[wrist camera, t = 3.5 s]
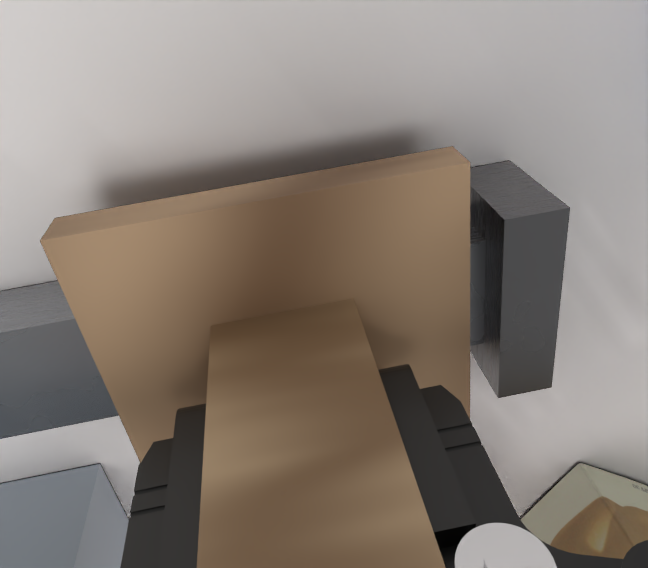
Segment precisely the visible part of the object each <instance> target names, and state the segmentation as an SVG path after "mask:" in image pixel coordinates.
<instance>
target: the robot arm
mask: <svg viewBox="0 0 648 568" xmlns="http://www.w3.org/2000/svg"><path fill="white" fill-rule="evenodd" d="M378 371H379V374H380V377H381V380H382V383H383V386H384V389H385V392H386V394H387V397H388V400H389V403H390V406H391V409H392V412H393V415H394V418H395V421H396V424H397V427H398V430H399V432H400V435H401V438H402V441H403V444H404V447H405V450H406V453H407V456H408V459H409V462H410V465H411V468H412V471H413V473H414V476H415V479H416V482H417V485H418V488H419V491H420V494H421V497H422V500H423V503H424V506H425V509H426V511H427V514H428V517H429V520H430V523H431V526H432V529H433V532H434V535H435V538H436V541H437V544H438V547H439V550H440V552H441V555H442V558H443V561H444V564H445V567H446V568H648V540H646V541H643V542H640V543H638V544H636V545H635V546H633V547H632V548H631V549H630V550H629V551H628V552H627V553H626V555H625V557H624V559H618V558H609V557H600V556H591V555H581V554H575V553H569V552H566V551H563V550H560V549H557V548H555V547H553V546H550V545H549V544H547V543H545V542H543V541H542V540H540V539H539V538H538V537H536V536H535V535H534V534H533V533H531V532H530V531H529V530H528V529H527V528H526V526H525V525H524V524H523V523H522V521H521V520H520V518H519V517H518V515H517V513H516V511H515V509H514V507H513V505H512V503H511V501H510V499H509V497H508V495H507V493H506V491H505V489H504V487H503V485H502V483H501V481H500V479H499V477H498V475H497V473H496V471H495V469H494V467H493V465H492V463H491V461H490V459H489V457H488V455H487V453H486V451H485V449H484V447H483V446H482V445H481V441H480V439H479V437H478V435H477V433H476V431H475V429H474V427H472V423H471V421H470V419H469V417H468V415H467V413H466V411H465V409H464V407H463V405H462V403H461V401H460V400H459V399H457V398H456V397H455V396H454V395H453V394H451V393H450V392H449V391H448V390H447V389H445V388H444V387H443V386H442V385H437V386H432V387H427V388H422V389H420V388H419V386H418V383H417V381H416V379H415V376H414V374H413V371H412V369H411V367H410V365H409V364H404V365H399V366H394V367H389V368H384V369H379V370H378ZM205 416H206V403H205V404H200V405H195V406H190V407H184V408H179V409H178V410H177V413H176V418H175V427H174V435H173V438H170V439H165V440H160V441H155V442H153V444H152V445H151V447H150V448H149V450H148V452H147V453H146V455H145V456H144V458H143V460H142V461H141V463H140V464H139V467H138V472H137V478H136V483H135V489H134V492H135V496H133V500H132V506H131V511H130V513H131V517H130V518H129V522H128V528H127V533H126V539H125V544H124V550H123V556H122V561H121V567H120V568H197V554H198V537H199V520H200V502H201V485H202V468H203V450H204V433H205Z"/></svg>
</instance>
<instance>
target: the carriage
mask: <svg viewBox="0 0 648 568" xmlns="http://www.w3.org/2000/svg"><path fill="white" fill-rule="evenodd" d="M40 242H41V244H42V246H43V249H44V251H45V253H46V255H47V257H48V260H49V262H50V264H51V266H52V268H53V271H54V273H55V275H56V277H57V280H58V282H59V284H60V286H61V288H62V291H63V293H64V295H65V297H66V299H67V302H68V304H69V306H70V308H71V310H72V313H73V315H74V317H75V319H76V321H77V324H78V326H79V328H80V330H81V333H82V335H83V337H84V339H85V341H86V344H87V346H88V348H89V350H90V352H91V355H92V357H93V359H94V361H95V363H96V366H97V368H98V370H99V372H100V374H101V377H102V379H103V381H104V383H105V386H106V388H107V390H108V392H109V394H110V397H111V399H112V401H113V403H114V405H115V408H116V410H117V412H118V414H119V416H120V419H121V421H122V423H123V425H124V427H125V430H126V432H127V434H128V436H129V439H130V441H131V443H132V445H133V447H134V450H135V452H136V454H137V456H138V458H139V461H140V463H141V461H142V460H143V458H144V456H145V455H146V453H147V452H148V450H149V448H150V447H151V445H152V444H153V442H155V441H160V440H165V439H170V438H173V435H174V427H175V418H176V413H177V410H178V409H179V408H184V407H190V406H195V405H200V404H205V403H206V416H205V433H204V450H203V468H202V485H201V502H200V520H199V537H198V554H197V568H446V567H445V564H444V561H443V558H442V555H441V552H440V550H439V547H438V544H437V541H436V538H435V535H434V532H433V529H432V526H431V523H430V520H429V517H428V514H427V511H426V509H425V506H424V503H423V500H422V497H421V494H420V491H419V488H418V485H417V482H416V479H415V476H414V473H413V471H412V468H411V465H410V462H409V459H408V456H407V453H406V450H405V447H404V444H403V441H402V438H401V435H400V432H399V430H398V427H397V424H396V421H395V418H394V415H393V412H392V409H391V406H390V403H389V400H388V397H387V394H386V392H385V389H384V386H383V383H382V380H381V377H380V374H379V371H378V370H379V369H384V368H389V367H394V366H399V365H404V364H409V365H410V367H411V369H412V371H413V374H414V376H415V379H416V381H417V383H418V386H419V388H420V389H422V388H427V387H432V386H437V385H442V386H443V387H444V388H445V389H447V390H448V391H449V392H450V393H451V394H453V395H454V396H455V397H456V398H457V399H459V400H460V401H461V403H462V405H463V407H464V409H465V411H466V413H467V415H468V417H469V419H470V162H469V161H468V160H467V159H466V158H465V157H464V156H463V155H462V154H460V153H459V152H458V151H457V150H456V149H455V148H454V147H453V146H451V147H446V148H440V149H435V150H429V151H424V152H418V153H412V154H407V155H401V156H396V157H390V158H385V159H379V160H374V161H368V162H363V163H357V164H352V165H346V166H340V167H335V168H329V169H324V170H318V171H313V172H307V173H302V174H296V175H291V176H285V177H279V178H274V179H268V180H263V181H257V182H252V183H246V184H241V185H235V186H230V187H224V188H219V189H213V190H207V191H202V192H196V193H191V194H185V195H180V196H174V197H169V198H163V199H158V200H152V201H146V202H141V203H135V204H130V205H124V206H119V207H113V208H108V209H102V210H97V211H91V212H85V213H80V214H74V215H69V216H63V217H58V218H54V220H53V222H52V223H51V225H50V226H49V228H48V229H47V231H46V232H45V234H44V235H43V237H42V238H41V240H40Z"/></svg>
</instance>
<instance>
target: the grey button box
mask: <svg viewBox="0 0 648 568" xmlns="http://www.w3.org/2000/svg"><path fill="white" fill-rule="evenodd" d="M128 522H129V520H128V518H127V516H126V514H125V512H124V510H123V508H122V506H121V504H120V502H119V500H118V498H117V496H116V494H115V492H114V490H113V488H112V486H111V484H110V482H109V480H108V478H107V476H106V474H105V472H104V471H103V469H102V467H101V465H100V464H97V465H92V466H87V467H82V468H77V469H72V470H67V471H62V472H57V473H52V474H47V475H42V476H37V477H32V478H27V479H22V480H17V481H12V482H7V483H2V484H0V568H120V567H121V561H122V556H123V550H124V544H125V539H126V533H127V528H128Z"/></svg>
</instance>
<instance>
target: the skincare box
mask: <svg viewBox="0 0 648 568" xmlns="http://www.w3.org/2000/svg"><path fill="white" fill-rule="evenodd" d="M521 521H522V523H523V524H524V525H525V526H526V528H527V529H528V530H529V531H530V532H531V533H533V534H534V535H535V536H536V537H538V538H539V539H540V540H542V541H543V542H545V543H547V544H549V545H550V546H553V547H555V548H557V549H560V550H563V551H566V552H569V553H575V554H581V555H591V556H600V557H609V558H618V559H624V557H625V555H626V553H627V552H628V551H629V550H630V549H631V548H632V547H633V546H635V545H636V544H638V543H640V542H643V541H646V540H648V486H646V485H644V484H641V483H638V482H636V481H633V480H630V479H627V478H625V477H622V476H618V475H616V474H613V473H610V472H607V471H604V470H601V469H598V468H595V467H592V466H589V465H586V464H583V463H579V464H577V465H576V466H575V467H574V468H573V469H572V470H571V471H570V472H569V473H568V474H567V475H566V476H565V477H564V478H563V479H562V480H561V481H559V482H558V483H557V484H556V485H555V486H554V487H553V488H552V489H551V490H550V491H549V492H548V493H547V494H546V495H545V496H544V497H543V498H542V499H541V500H540V501H539V502H538V503H537V504H536V505H535V506H534V507H533V508H532V509H531V510H530V511H529V512H528V513H527V514H526V515H525V516H524V517H523V518H522V519H521Z"/></svg>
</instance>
